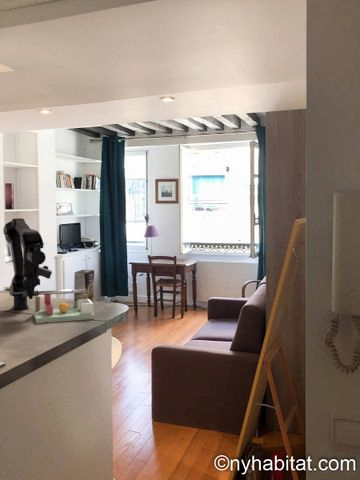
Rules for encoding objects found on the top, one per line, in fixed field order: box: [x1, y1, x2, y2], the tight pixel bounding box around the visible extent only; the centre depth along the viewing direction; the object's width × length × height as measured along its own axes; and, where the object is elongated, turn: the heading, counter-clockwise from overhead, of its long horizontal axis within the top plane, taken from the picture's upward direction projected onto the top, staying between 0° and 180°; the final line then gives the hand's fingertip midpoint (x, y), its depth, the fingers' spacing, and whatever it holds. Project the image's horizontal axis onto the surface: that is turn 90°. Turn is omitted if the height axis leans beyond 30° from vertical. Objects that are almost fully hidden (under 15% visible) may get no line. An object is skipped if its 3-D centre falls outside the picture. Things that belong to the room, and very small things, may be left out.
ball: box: [58, 302, 70, 312], centre depth 186 cm, size 4×4×4 cm
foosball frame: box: [33, 294, 95, 324], centre depth 186 cm, size 13×23×8 cm, turn 113°
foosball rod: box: [23, 288, 86, 314], centre depth 186 cm, size 10×26×8 cm, turn 113°
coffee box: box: [73, 269, 95, 308], centre depth 207 cm, size 9×6×16 cm
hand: (30, 298), depth 186 cm, fingers closed on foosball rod, 2 cm apart
